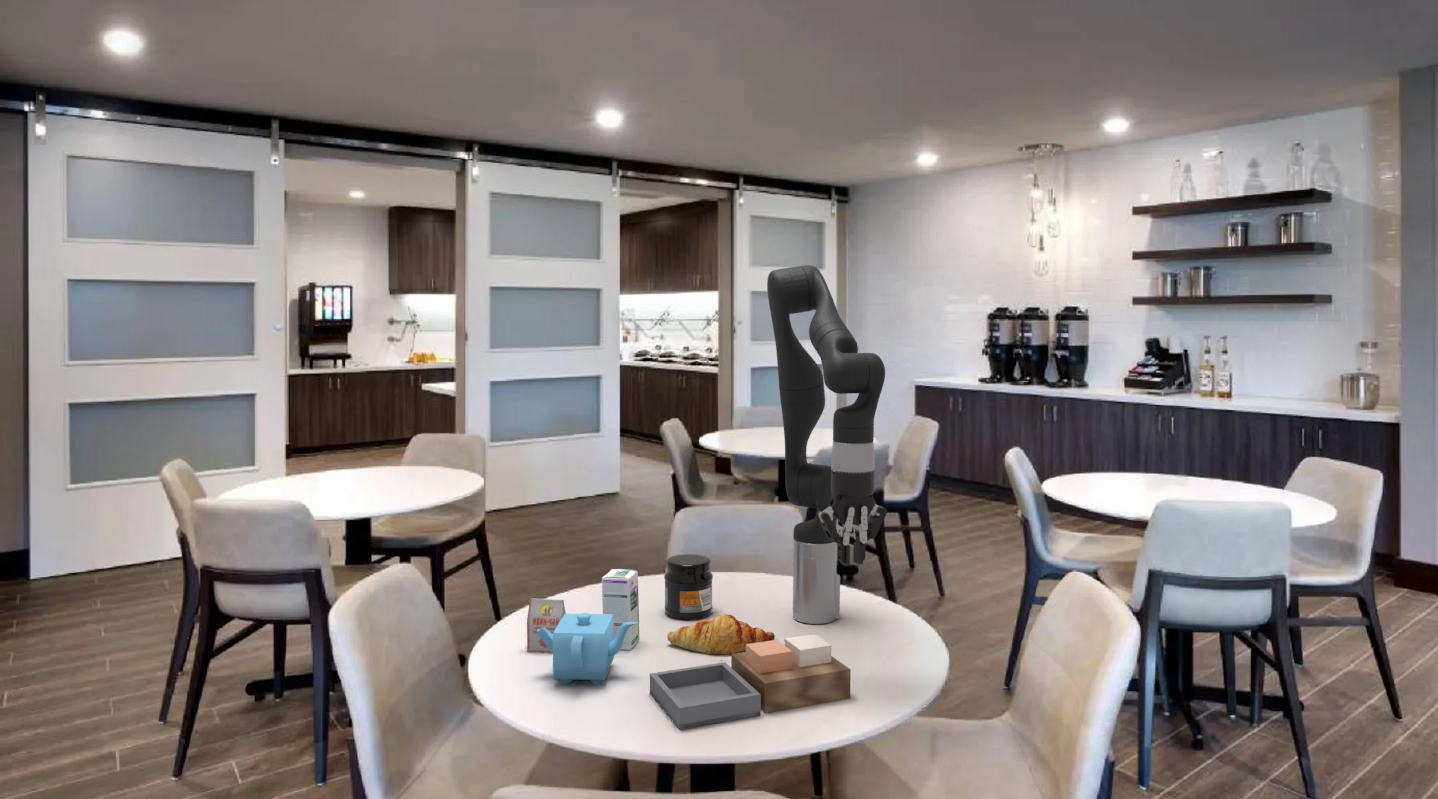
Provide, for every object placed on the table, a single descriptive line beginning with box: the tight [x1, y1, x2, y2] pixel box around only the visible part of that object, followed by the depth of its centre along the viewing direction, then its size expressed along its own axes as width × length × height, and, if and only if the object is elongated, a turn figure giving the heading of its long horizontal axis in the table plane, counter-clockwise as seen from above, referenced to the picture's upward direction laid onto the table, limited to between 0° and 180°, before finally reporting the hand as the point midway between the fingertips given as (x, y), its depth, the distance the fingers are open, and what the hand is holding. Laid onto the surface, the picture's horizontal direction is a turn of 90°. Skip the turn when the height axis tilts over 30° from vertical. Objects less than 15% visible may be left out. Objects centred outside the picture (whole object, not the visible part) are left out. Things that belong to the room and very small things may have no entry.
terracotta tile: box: [745, 639, 793, 674], centre depth 156 cm, size 6×6×3 cm
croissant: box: [666, 613, 776, 655], centre depth 178 cm, size 21×10×8 cm
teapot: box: [537, 612, 637, 685], centre depth 164 cm, size 16×18×11 cm
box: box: [649, 661, 762, 731], centre depth 152 cm, size 14×15×4 cm
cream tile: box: [784, 634, 832, 667], centre depth 159 cm, size 6×6×3 cm
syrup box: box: [601, 568, 640, 651], centre depth 179 cm, size 6×6×14 cm
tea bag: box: [526, 597, 567, 654], centre depth 177 cm, size 4×7×10 cm, turn 81°
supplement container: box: [663, 553, 714, 621], centre depth 198 cm, size 10×10×12 cm
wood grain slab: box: [730, 651, 852, 714], centre depth 158 cm, size 16×14×5 cm
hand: (851, 563), depth 161 cm, fingers closed
